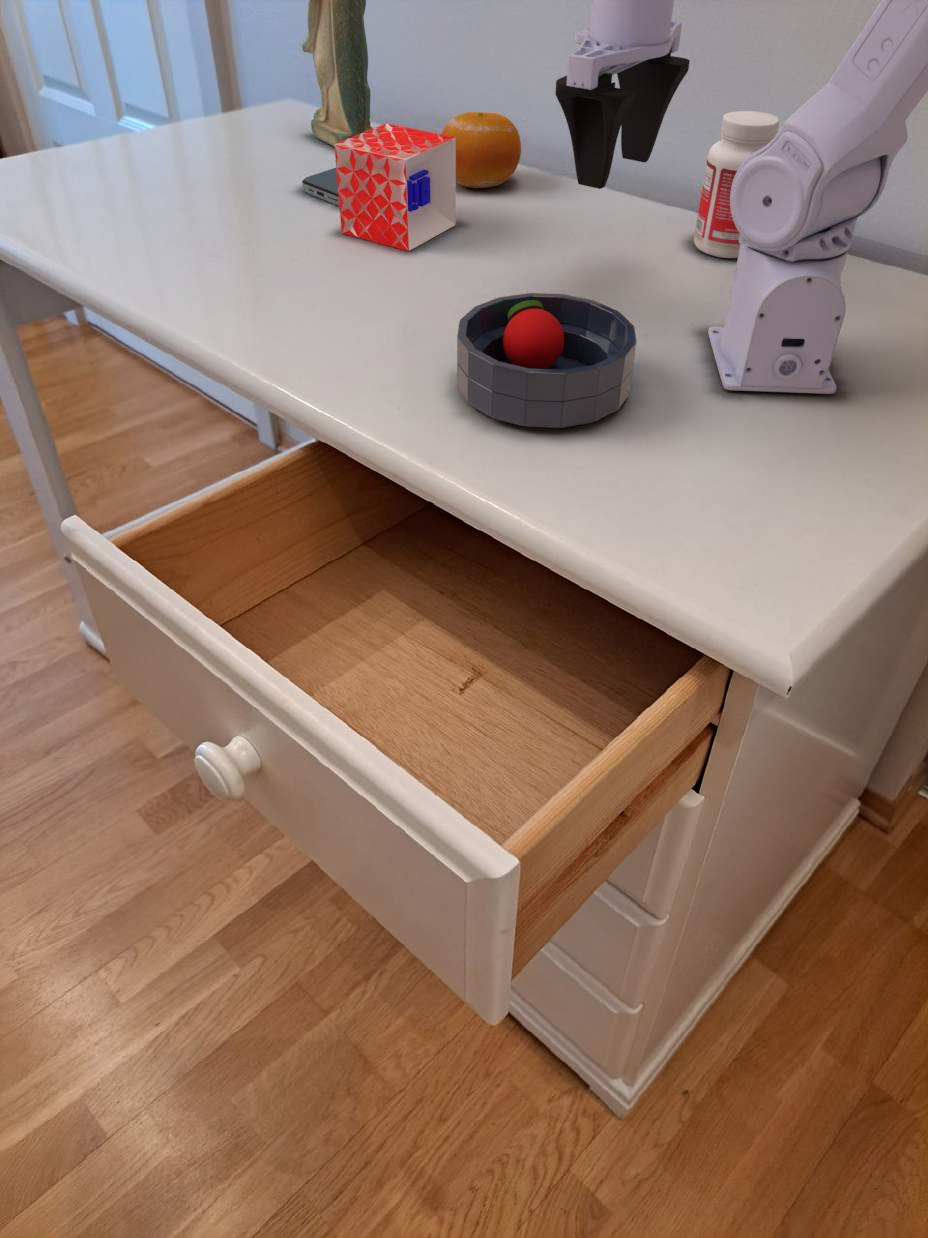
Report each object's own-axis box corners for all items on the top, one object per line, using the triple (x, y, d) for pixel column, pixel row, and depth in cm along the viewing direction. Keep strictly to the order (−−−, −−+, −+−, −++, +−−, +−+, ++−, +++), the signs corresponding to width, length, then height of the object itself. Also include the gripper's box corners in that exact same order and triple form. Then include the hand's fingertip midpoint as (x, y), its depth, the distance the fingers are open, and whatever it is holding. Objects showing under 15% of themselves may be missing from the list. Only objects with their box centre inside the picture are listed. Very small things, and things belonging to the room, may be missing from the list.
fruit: (530, 134, 100) (498, 71, 94) (535, 189, 96) (501, 127, 90) (461, 167, 104) (426, 109, 97) (463, 221, 100) (426, 165, 94)
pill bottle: (773, 251, 86) (804, 120, 78) (726, 265, 83) (753, 131, 76) (725, 230, 89) (750, 103, 82) (678, 243, 87) (699, 113, 79)
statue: (346, 126, 114) (327, -134, 97) (387, 142, 110) (375, -128, 92) (299, 137, 111) (271, -131, 94) (340, 153, 106) (319, -125, 89)
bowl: (632, 437, 62) (642, 376, 59) (451, 430, 62) (451, 369, 59) (622, 352, 71) (629, 295, 68) (464, 346, 71) (464, 290, 68)
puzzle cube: (390, 208, 93) (386, 122, 88) (455, 224, 90) (455, 136, 85) (341, 233, 88) (333, 144, 83) (408, 251, 85) (405, 159, 80)
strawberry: (569, 344, 63) (551, 284, 64) (507, 363, 64) (491, 304, 65) (573, 371, 68) (556, 315, 69) (515, 389, 68) (500, 333, 69)
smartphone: (296, 178, 96) (403, 142, 103) (299, 195, 97) (404, 158, 105) (342, 196, 92) (450, 158, 100) (344, 213, 93) (451, 174, 101)
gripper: (631, -55, 70) (610, 140, 79) (533, -29, 61) (523, 187, 70) (719, -46, 67) (687, 155, 76) (630, -18, 58) (606, 205, 67)
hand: (614, 171), depth 73 cm, fingers open, 7 cm apart
